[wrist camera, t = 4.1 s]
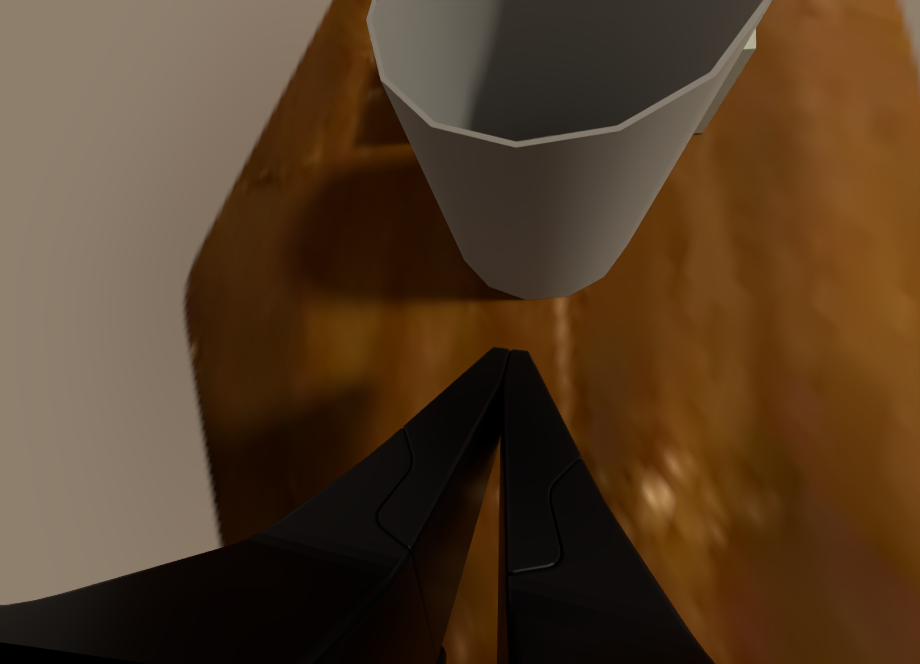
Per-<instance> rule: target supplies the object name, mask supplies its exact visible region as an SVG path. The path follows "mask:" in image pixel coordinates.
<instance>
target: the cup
mask: <svg viewBox="0 0 920 664" xmlns="http://www.w3.org/2000/svg"><path fill="white" fill-rule="evenodd" d="M771 1H772V0H372V3H371V6H370V9H369V13H368V16H367V19H366V20H367V24H368V29H369V33H370V37H371V41H372V46H373V50H374V54H375V58H376V63H377V67H378V71H379V75H380V80H381V82H382V84H383V86H384V88H385V90H386V93H387V95H388V97H389V99H390V101H391V103H392V106H393V108H394V110H395V112H396V114H397V116H398V118H399V121H400V123H401V125H402V127H403V129H404V131H405V134H406V136H407V138H408V140H409V142H410V144H411V147H412V149H413V151H414V153H415V155H416V157H417V159H418V162H419V164H420V166H421V168H422V170H423V172H424V175H425V177H426V179H427V181H428V183H429V185H430V187H431V190H432V192H433V194H434V196H435V198H436V200H437V203H438V205H439V207H440V209H441V211H442V213H443V215H444V218H445V220H446V222H447V224H448V226H449V228H450V231H451V233H452V235H453V237H454V239H455V241H456V243H457V246H458V248H459V250H460V252H461V254H462V256H463V259H464V261H465V262H466V263H467V264H468V265H469V266H470V267H471V268H472V269H473V270H474V271H475V272H476V273H477V274H478V276H479V277H480V278H481V279H482V280H483V281H484V282H485V283H486V284H487V285H488V286H489V287H491V288H494V289H497V290H500V291H502V292H505V293H508V294H510V295H513V296H516V297H519V298H521V299H524V300H532V299H545V298H558V297H568V296H569V295H571V294H573V293H575V292H577V291H579V290H581V289H582V288H584V287H586V286H588V285H590V284H592V283H593V282H595V281H597V280H599V279H601V278H603V277H604V276H605V275H606V273H607V272H608V271H609V269H610V268H611V267H612V265H613V264H614V262H615V261H616V260H617V258H618V257H619V256H620V254H621V253H622V251H623V250H624V249H625V247H626V246H627V245H628V243H629V241H630V240H631V238H632V236H633V235H634V233H635V231H636V229H637V228H638V226H639V224H640V223H641V221H642V219H643V218H644V216H645V214H646V213H647V211H648V209H649V207H650V206H651V204H652V202H653V201H654V199H655V197H656V196H657V194H658V192H659V191H660V189H661V187H662V186H663V184H664V182H665V180H666V179H667V177H668V175H669V174H670V172H671V170H672V169H673V167H674V165H675V164H676V162H677V160H678V158H679V157H680V155H681V153H682V152H683V150H684V148H685V147H686V145H687V143H688V142H689V140H690V138H691V136H692V135H693V133H694V131H695V130H696V128H697V126H698V125H699V123H700V121H701V120H702V118H703V116H704V115H705V113H706V111H707V109H708V108H709V106H710V104H711V103H712V101H713V99H714V98H715V96H716V94H717V93H718V91H719V89H720V87H721V86H722V84H723V82H724V81H725V79H726V77H727V76H728V74H729V72H730V71H731V69H732V67H733V65H734V64H735V62H736V60H737V59H738V57H739V55H740V54H741V52H742V50H743V49H744V47H745V45H746V43H747V42H748V40H749V38H750V37H751V35H752V33H753V32H754V30H755V28H756V27H757V25H758V23H759V22H760V20H761V18H762V16H763V15H764V13H765V11H766V10H767V8H768V6H769V5H770V3H771Z"/></svg>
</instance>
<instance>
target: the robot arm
mask: <svg viewBox="0 0 920 664" xmlns="http://www.w3.org/2000/svg"><path fill="white" fill-rule="evenodd" d="M500 436H501V442H500V494H499V563H498V632H497V664H715V663H714V661H713V660H712V659H711V658H710V657H709V656H708V654H707V653H706V652H705V651H704V649H703V648H702V647H701V645H700V644H699V643H698V641H697V640H696V639H695V637H694V636H693V635H692V633H691V632H690V630H689V629H688V627H687V626H686V624H685V623H684V621H683V620H682V619H681V617H680V616H679V614H678V613H677V611H676V609H675V608H674V606H673V605H672V603H671V602H670V600H669V599H668V597H667V596H666V594H665V593H664V591H663V590H662V588H661V587H660V585H659V584H658V582H657V581H656V579H655V578H654V576H653V575H652V573H651V572H650V570H649V569H648V567H647V565H646V564H645V562H644V561H643V559H642V558H641V556H640V555H639V553H638V552H637V550H636V549H635V547H634V546H633V544H632V543H631V541H630V540H629V538H628V537H627V535H626V534H625V532H624V530H623V529H622V527H621V526H620V524H619V522H618V521H617V519H616V518H615V516H614V514H613V513H612V511H611V510H610V508H609V506H608V505H607V503H606V501H605V500H604V498H603V496H602V494H601V492H600V490H599V489H598V487H597V485H596V483H595V481H594V480H593V478H592V476H591V474H590V472H589V470H588V468H587V466H586V464H585V462H584V460H582V456H581V454H580V452H579V450H578V448H577V446H576V444H575V442H574V441H573V439H572V437H571V435H570V433H569V431H568V429H567V427H566V425H565V423H564V421H563V419H562V417H561V415H560V413H559V411H558V409H557V407H556V405H555V403H554V401H553V399H552V397H551V395H550V393H549V391H548V389H547V387H546V385H545V383H544V381H543V379H542V377H541V375H540V373H539V371H538V369H537V367H536V365H535V363H534V361H533V359H532V357H531V355H530V353H529V352H528V351H523V350H511V351H510V350H509V349H505V348H497V347H494V348H492V349H491V350H489V351H488V352H487V353H486V354H485V355H484V356H483V357H481V358H480V359H479V360H478V361H477V362H476V363H475V364H473V365H472V366H471V367H470V368H469V369H468V370H467V371H466V372H464V373H463V374H462V375H461V376H460V377H459V378H458V379H456V380H455V381H454V382H453V383H452V384H451V385H450V386H449V387H447V388H446V389H445V390H444V391H443V392H442V393H441V394H439V395H438V396H437V397H436V398H435V399H434V400H433V401H432V402H430V403H429V404H428V405H427V406H426V407H425V408H424V409H422V410H421V411H420V412H419V413H418V414H417V415H416V416H415V417H413V418H412V419H411V420H410V421H409V422H408V423H407V424H405V425H404V427H403V428H401V429H400V430H398V431H397V432H396V433H395V434H394V435H393V436H392V437H390V438H389V439H388V440H387V441H386V442H385V443H383V444H382V445H381V446H380V447H379V448H377V449H376V450H375V451H374V452H373V453H371V454H370V455H369V456H368V457H366V458H365V459H364V460H362V461H361V462H360V463H358V464H357V465H356V466H354V467H353V468H352V469H350V470H349V471H348V472H346V473H345V474H344V475H342V476H341V477H339V478H338V479H337V480H335V481H334V482H332V483H331V484H330V485H328V486H327V487H325V488H324V489H323V490H321V491H320V492H318V493H317V494H316V495H314V496H313V497H312V498H310V499H309V500H307V501H306V502H305V503H303V504H302V505H300V506H299V507H298V508H296V509H295V510H293V511H292V512H291V513H289V514H288V515H286V516H285V517H284V518H282V519H281V520H279V521H278V522H276V523H275V524H273V525H272V526H270V527H268V528H266V529H265V530H263V531H261V532H259V533H257V534H255V535H253V536H251V537H249V538H247V539H245V540H242V541H240V542H238V543H235V544H232V545H229V546H226V547H222V548H219V549H215V550H212V551H209V552H205V553H202V554H198V555H195V556H191V557H188V558H184V559H181V560H177V561H174V562H171V563H167V564H163V565H160V566H156V567H153V568H150V569H146V570H142V571H139V572H135V573H132V574H128V575H125V576H121V577H118V578H115V579H111V580H108V581H104V582H101V583H98V584H93V585H90V586H87V587H83V588H80V589H77V590H73V591H69V592H66V593H62V594H58V595H54V596H50V597H46V598H42V599H38V600H34V601H28V602H22V603H15V604H10V605H0V664H446V652H445V649H444V648H443V646H442V642H443V639H444V635H445V632H446V628H447V625H448V621H449V618H450V614H451V611H452V607H453V604H454V600H455V597H456V593H457V590H458V586H459V583H460V579H461V576H462V572H463V568H464V565H465V561H466V558H467V554H468V551H469V547H470V544H471V540H472V537H473V533H474V530H475V526H476V523H477V519H478V516H479V512H480V509H481V505H482V502H483V498H484V495H485V491H486V488H487V484H488V481H489V477H490V474H491V470H492V467H493V463H494V460H495V456H496V453H497V449H498V445H499V441H500ZM436 661H438V663H436Z"/></svg>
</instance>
